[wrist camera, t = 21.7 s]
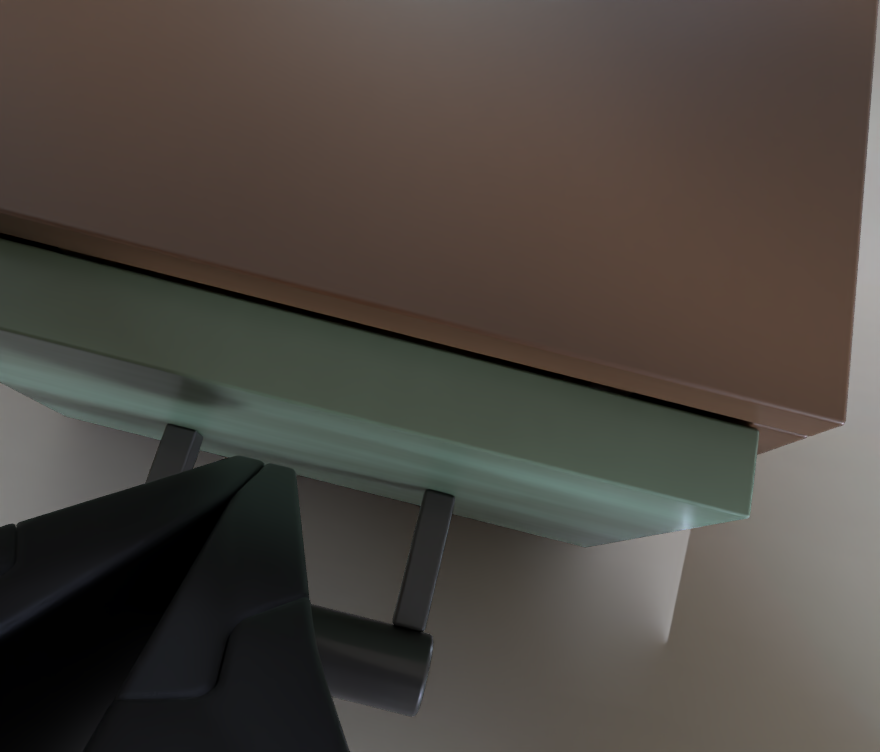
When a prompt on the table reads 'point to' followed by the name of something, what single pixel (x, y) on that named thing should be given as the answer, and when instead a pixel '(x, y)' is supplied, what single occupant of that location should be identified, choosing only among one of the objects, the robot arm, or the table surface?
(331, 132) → the cabinet
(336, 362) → the drawer
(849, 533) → the table surface
